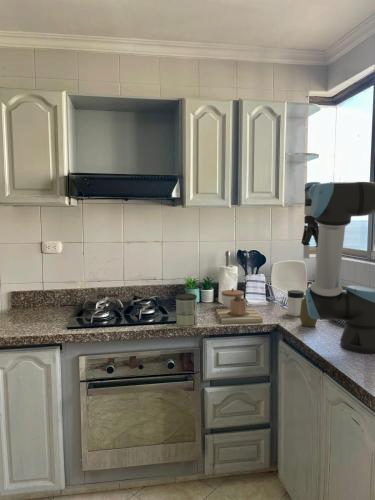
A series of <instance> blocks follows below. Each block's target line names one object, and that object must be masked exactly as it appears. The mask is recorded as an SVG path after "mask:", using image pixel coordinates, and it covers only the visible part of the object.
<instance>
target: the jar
mask: <svg viewBox="0 0 375 500" xmlns="http://www.w3.org/2000/svg"><path fill="white" fill-rule="evenodd" d="M304 295H305V292H304V291H303V290H298V289H297V290H296V289H294V290H293V289H291V290H287V315H289V316H293V317H300V310H301V302H302V300H303V299H304Z"/></svg>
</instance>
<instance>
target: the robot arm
mask: <svg viewBox="0 0 375 500" xmlns="http://www.w3.org/2000/svg"><path fill="white" fill-rule="evenodd" d="M303 191H304V212H303V213H304V218H303V219H304V224H305V225H304V229H303V233H302V238H301V244H302V245H303V259H310V242H311V239H312V237H313V239H314V243H315V244H316V245H315V263H316V264H315V275H314V276H315V278H314V281H313V282H311V284H310V289H307V288H306V289H305V294H306V303H307V309H308V314H309V316H310V317H311V318H312V319H317V320H320V321H321V320H330V321H345V326H344V329H343V331H342V334H341V336H340V347H342V348H343V349H345V350H347V351H351V352H354V353H360V354H367V355H368V354H371V355H372V354H375V289H374V288H373V289H372V288H369V287H365V286H359V285H347V286H346V287H345V289H343V287H342V285H341V284H340V277H341V270H342V269H341V267H342V258H343V249H344V242H345V241H344V240H345V239H344V238H345V232H346V227H347V226H348V225H350V224H351V221H352V217H364V216H370V215H372V214H375V182H371V181H348V182H347V181H342V182H341V181H339V182H336V181H334V182H333V181H330V182H324V183H323V182H322V183H321V182H320V181H309V182H306V183H305V184H304V189H303ZM306 224H307V225H306Z"/></svg>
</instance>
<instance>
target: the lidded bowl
mask: <svg viewBox="0 0 375 500" xmlns="http://www.w3.org/2000/svg"><path fill="white" fill-rule="evenodd" d="M244 294H245V292H244V291H243V290H239V289H234V288H231V289H226V290H223V291H221V300H222V304H223V305H224V307H226V308H225V309H230V299H234V298H235V296H241V298H243V299H245V297H244Z"/></svg>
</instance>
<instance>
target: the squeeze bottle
mask: <svg viewBox="0 0 375 500" xmlns="http://www.w3.org/2000/svg"><path fill="white" fill-rule="evenodd" d="M307 289H310V287H309V286H308V287H307V288H306V290H307ZM299 320H300V322H301V325H302V326H304V327H307V328H308V327H309V328H310V327H315V326H316V324H317V321H318V319H312V318H311V317H310V316H309V314H308V309H307V303H306V293H304V299H303V300H302V302H301V310H300V316H299Z"/></svg>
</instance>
